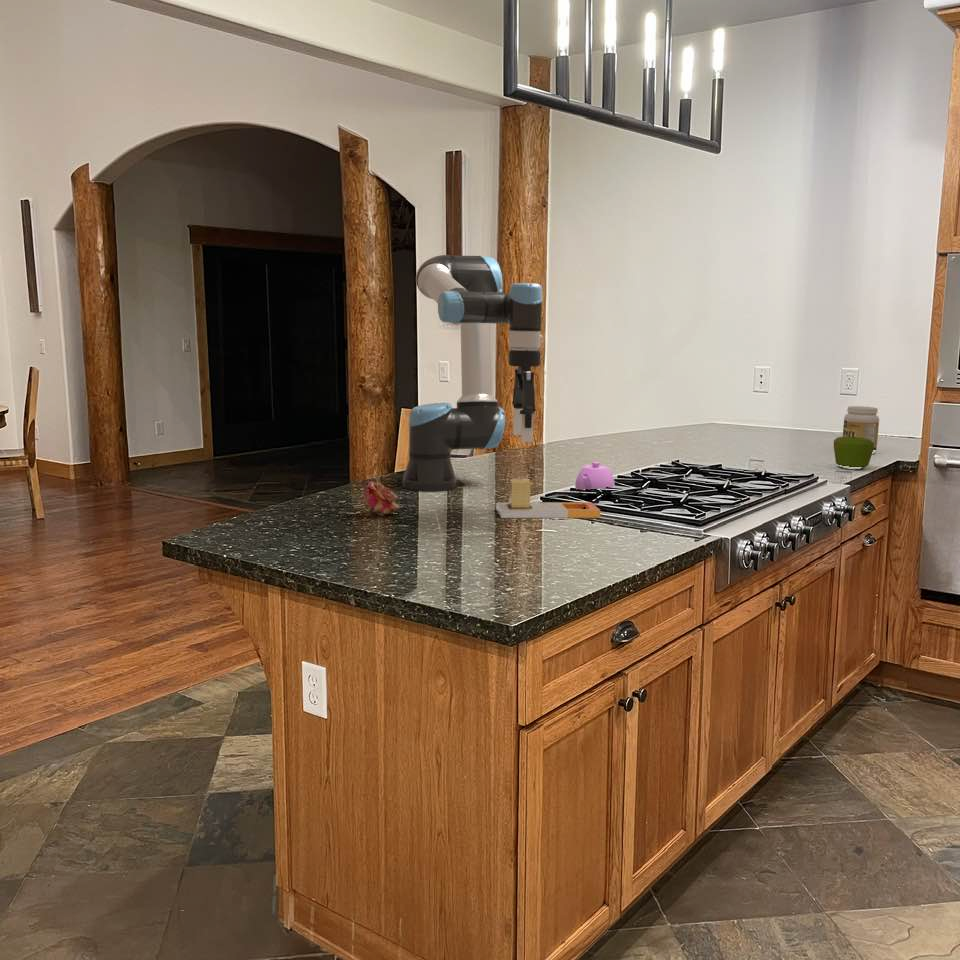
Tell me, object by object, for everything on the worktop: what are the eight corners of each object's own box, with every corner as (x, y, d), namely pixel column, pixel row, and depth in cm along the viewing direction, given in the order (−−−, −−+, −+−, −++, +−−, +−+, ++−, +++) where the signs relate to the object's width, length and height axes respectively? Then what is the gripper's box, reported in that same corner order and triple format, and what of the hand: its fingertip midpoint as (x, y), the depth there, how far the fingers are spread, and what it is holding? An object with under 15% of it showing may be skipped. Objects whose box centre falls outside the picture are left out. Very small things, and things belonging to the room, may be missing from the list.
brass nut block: (511, 515, 235) (511, 482, 233) (508, 511, 239) (509, 479, 238) (529, 515, 235) (530, 482, 234) (526, 511, 240) (527, 479, 238)
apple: (879, 470, 320) (882, 436, 318) (850, 472, 316) (853, 437, 314) (852, 464, 332) (855, 431, 330) (823, 466, 327) (826, 432, 325)
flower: (357, 512, 230) (377, 485, 229) (351, 497, 238) (371, 471, 237) (389, 532, 234) (409, 506, 233) (383, 516, 242) (402, 491, 241)
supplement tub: (834, 451, 366) (837, 405, 363) (861, 450, 370) (865, 405, 367) (855, 455, 355) (859, 409, 352) (883, 454, 358) (887, 408, 355)
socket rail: (501, 520, 232) (501, 510, 231) (496, 511, 242) (496, 502, 241) (600, 520, 234) (600, 510, 234) (591, 511, 244) (591, 502, 244)
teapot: (621, 494, 269) (622, 460, 268) (601, 502, 256) (602, 467, 255) (585, 490, 274) (587, 457, 273) (564, 498, 261) (566, 464, 259)
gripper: (549, 351, 219) (546, 445, 223) (532, 348, 244) (529, 432, 247) (516, 351, 218) (514, 444, 222) (502, 347, 243) (500, 432, 246)
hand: (522, 438), depth 235 cm, fingers open, 13 cm apart
